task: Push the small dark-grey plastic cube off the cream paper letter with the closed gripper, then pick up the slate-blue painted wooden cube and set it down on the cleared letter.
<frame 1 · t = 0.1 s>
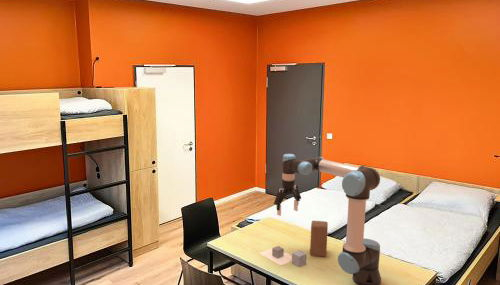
hand: (287, 212, 236), 28 cm above the table, fingers open, 13 cm apart
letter: (277, 256, 239), on the table
grey cube: (277, 255, 239), resting on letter
slate cube: (298, 264, 230), on the table
wooden block: (318, 253, 244), on the table
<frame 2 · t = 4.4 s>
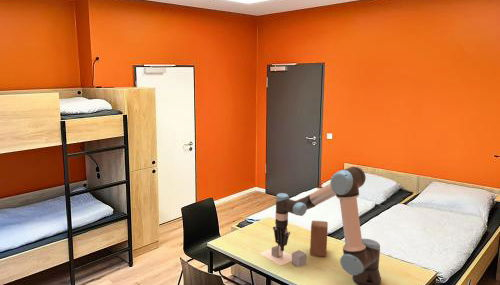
hand: (280, 254, 237), 2 cm above the table, fingers closed
grey cube: (277, 255, 240), resting on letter, touching gripper
everything else where it was.
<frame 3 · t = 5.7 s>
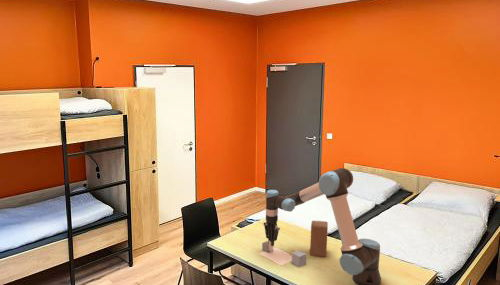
hand: (271, 249, 244), 2 cm above the table, fingers closed
grey cube: (267, 250, 246), on the table, touching gripper, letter
everything else where it was.
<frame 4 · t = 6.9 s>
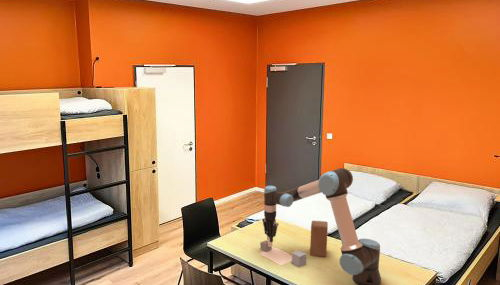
hand: (270, 245, 244), 4 cm above the table, fingers closed
grey cube: (266, 249, 247), on the table, tilted 5°, touching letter
everything else where it was.
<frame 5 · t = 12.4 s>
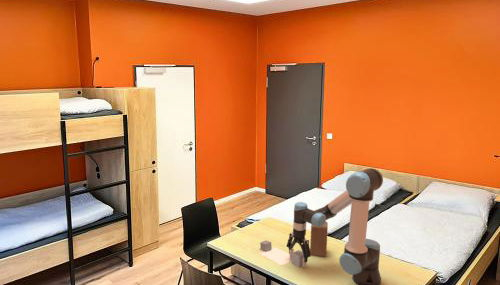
hand: (297, 262, 231), 0 cm above the table, fingers open, 10 cm apart
nothing on the table moved.
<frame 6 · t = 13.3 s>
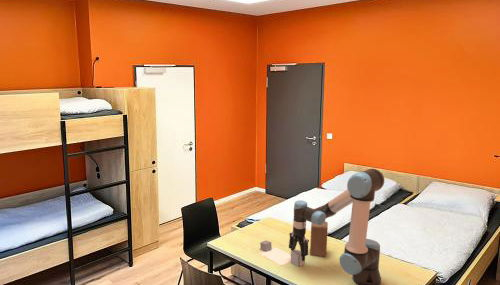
hand: (297, 262, 231), 0 cm above the table, fingers closed on slate cube, 6 cm apart
slate cube: (297, 263, 231), on the table, touching gripper
everything else where it was.
when the fingers open (1 cm above the table, at t = 18.1 s): slate cube stays where it is, resting on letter.
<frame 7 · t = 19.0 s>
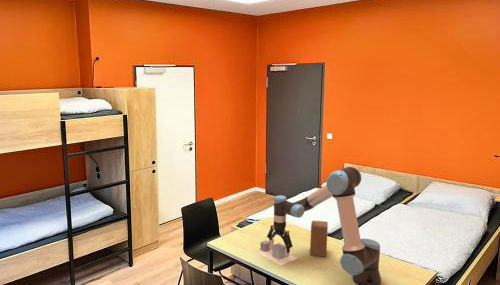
hand: (279, 253, 238), 3 cm above the table, fingers open, 13 cm apart
slate cube: (278, 256, 239), resting on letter
everything else where it was.
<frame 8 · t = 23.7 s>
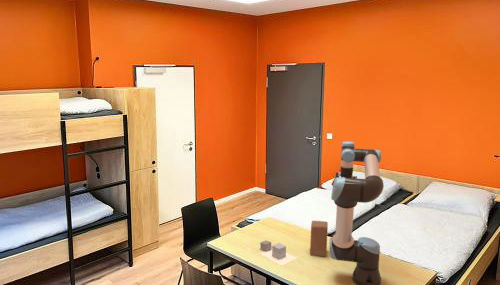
hand: (345, 199, 240), 35 cm above the table, fingers open, 13 cm apart
nothing on the table moved.
at the end: slate cube inside the target area on the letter (0.9 cm from its centre), point 0.3 cm above the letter's base; slate cube tilted 0°; grey cube inside the target area (10.9 cm from its centre), on the table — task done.
